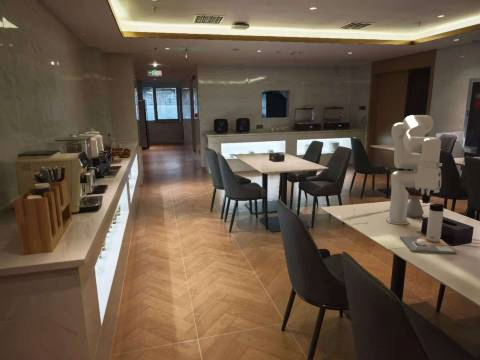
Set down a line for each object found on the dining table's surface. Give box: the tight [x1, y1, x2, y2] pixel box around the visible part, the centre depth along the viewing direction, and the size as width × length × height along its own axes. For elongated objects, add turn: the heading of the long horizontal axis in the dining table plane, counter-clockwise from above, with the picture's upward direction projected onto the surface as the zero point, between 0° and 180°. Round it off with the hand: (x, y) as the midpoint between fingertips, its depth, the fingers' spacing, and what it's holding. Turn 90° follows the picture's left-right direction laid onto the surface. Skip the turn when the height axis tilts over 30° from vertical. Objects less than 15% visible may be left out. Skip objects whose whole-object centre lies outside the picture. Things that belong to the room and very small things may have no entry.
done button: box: [416, 239, 426, 246], centre depth 166 cm, size 4×4×2 cm
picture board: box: [399, 236, 457, 255], centre depth 170 cm, size 18×20×2 cm
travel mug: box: [425, 203, 445, 243], centre depth 171 cm, size 6×7×20 cm
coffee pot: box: [405, 187, 425, 219], centre depth 221 cm, size 21×12×15 cm, turn 178°
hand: (425, 202), depth 161 cm, fingers closed
